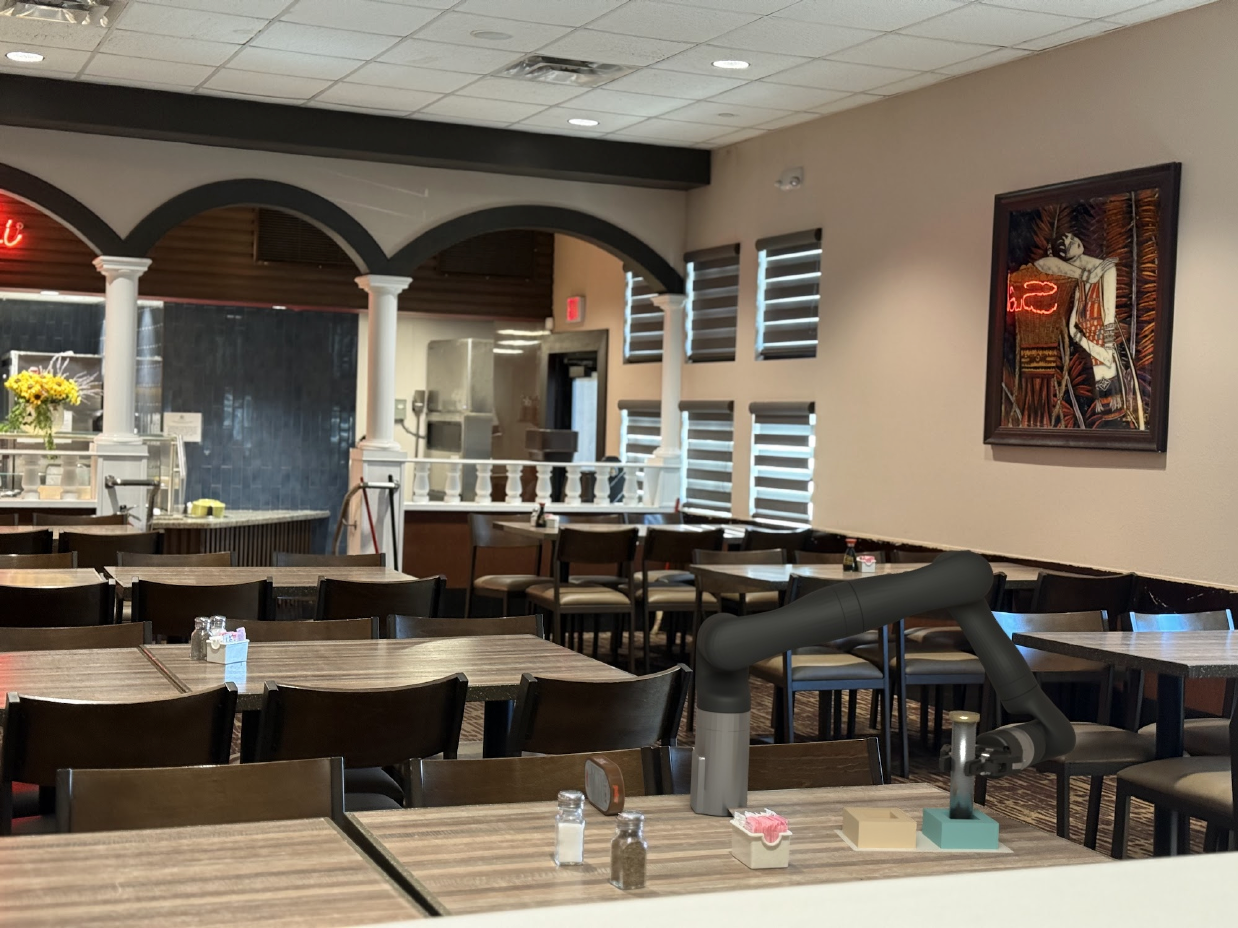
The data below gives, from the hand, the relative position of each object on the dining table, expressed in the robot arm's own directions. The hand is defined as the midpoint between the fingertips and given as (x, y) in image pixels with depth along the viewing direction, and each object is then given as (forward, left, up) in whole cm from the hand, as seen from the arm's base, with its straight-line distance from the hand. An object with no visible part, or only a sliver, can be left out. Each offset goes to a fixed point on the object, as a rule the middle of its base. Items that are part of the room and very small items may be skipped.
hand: (954, 767), depth 223 cm
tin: (-52, +26, -14) cm, 59 cm away
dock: (-4, +2, -13) cm, 14 cm away
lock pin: (+2, +2, -10) cm, 10 cm away
